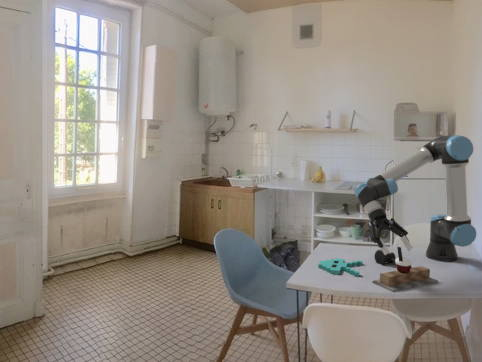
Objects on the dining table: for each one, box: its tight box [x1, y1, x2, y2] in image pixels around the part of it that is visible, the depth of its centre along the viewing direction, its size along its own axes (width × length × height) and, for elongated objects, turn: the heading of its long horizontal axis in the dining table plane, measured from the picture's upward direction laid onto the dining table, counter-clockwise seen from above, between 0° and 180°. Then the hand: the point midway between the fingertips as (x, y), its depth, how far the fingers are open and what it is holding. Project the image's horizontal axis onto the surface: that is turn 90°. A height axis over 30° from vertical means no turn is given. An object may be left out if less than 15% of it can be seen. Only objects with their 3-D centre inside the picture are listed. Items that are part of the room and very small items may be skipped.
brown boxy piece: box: [372, 266, 439, 293], centre depth 177 cm, size 26×12×5 cm, turn 113°
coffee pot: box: [374, 249, 413, 268], centre depth 201 cm, size 8×18×8 cm
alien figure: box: [317, 257, 363, 278], centre depth 199 cm, size 20×2×20 cm
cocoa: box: [394, 246, 412, 273], centre depth 176 cm, size 10×6×12 cm, turn 112°
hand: (399, 251), depth 177 cm, fingers open, 13 cm apart
